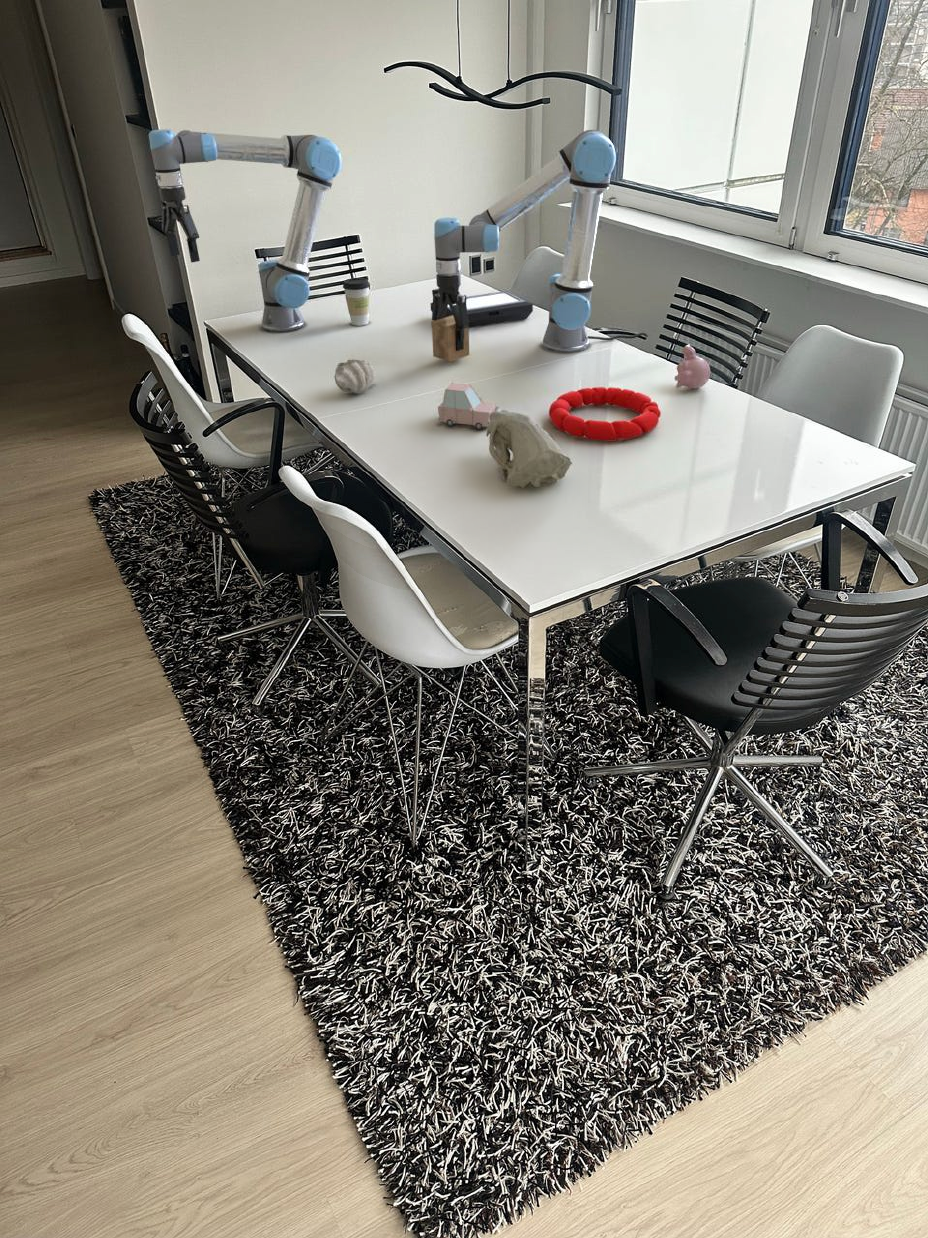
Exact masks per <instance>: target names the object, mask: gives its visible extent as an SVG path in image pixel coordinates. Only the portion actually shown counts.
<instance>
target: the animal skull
mask: <svg viewBox="0 0 928 1238" xmlns="http://www.w3.org/2000/svg"><path fill="white" fill-rule="evenodd" d="M485 436H486V438H487V437H489V438H488V440H489V444H488V445H489V446H488V450H489V454H490V456H491V457H492V458H493V459H494V460H495V462H496V464H497V466H499V468H500V470H501V471H502V472H501V478H502V479H507V480H506V484H507V486H517V487H518V486H519V488H523V489H524V488H526V486H527V485H529V483H531V485H533V486H534V487H536V488H540V485H541V484H542V482H544V483H549V484H550V485H553V484H555V483H556V482H557V480H561V479H563V478H565V476H566V474H567V472H568V471H569V469H570V467H571V466H572V464H573V462H572V461H571V458H570V457H568V456H567V455H565V453H564V451H562V449H561V448H560V446H559V444H557V443H556V439H555V438H554V436H553V435H551V434H550V433H548V432H547V431H546V430H545V429H544V428H542V427H541V426H539V425H538V424H537V423H536V424H535V422H534V421H533V419H532V418H531V417H530V416H529V415H527V414H524V413H519V412H515V411H509V410H507V409H502V410H500V411H499V410H497V411H496V412H492V413H491V414H490V422H488V423H487V427H486V435H485ZM511 453H512V454H511ZM511 455H512V457H513V458H512V460H511ZM507 474H508V475H507Z"/></svg>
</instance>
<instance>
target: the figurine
mask: <svg viewBox="0 0 928 1238" xmlns="http://www.w3.org/2000/svg"><path fill="white" fill-rule="evenodd" d="M682 354H683V358H684V359H683V361H682V362H679V363H678V364H677V365H676V372H677V375H675V376H674V381H675V382H676V381H677V382H676V384H675V386H676V388H681V387H686V388H688V389H693V390H694V389H695V390H696V389H700V388H703V387H704V386H705V385H706V384H707V383H708V382H709V379H710V377H711V367H710V364H709V362H708V361H706V359H704V358H702V357H700V356H697V353H696V350H695V349H694V347H692V345H690V344H686V345H685V346H684V347H683V348H682Z"/></svg>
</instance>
